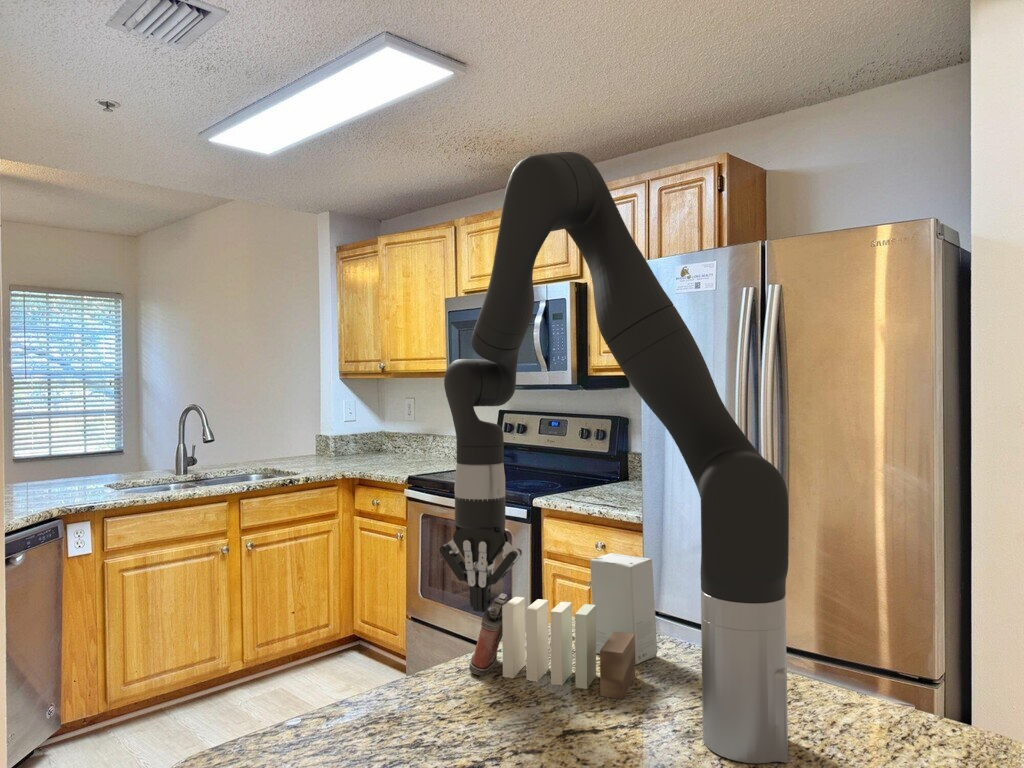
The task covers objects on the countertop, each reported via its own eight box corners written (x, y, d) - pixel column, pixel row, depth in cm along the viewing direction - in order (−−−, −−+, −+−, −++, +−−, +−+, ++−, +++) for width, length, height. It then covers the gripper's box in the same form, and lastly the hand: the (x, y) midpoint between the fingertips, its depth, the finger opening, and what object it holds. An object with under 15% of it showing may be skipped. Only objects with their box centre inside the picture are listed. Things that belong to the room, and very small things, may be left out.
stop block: (635, 676, 100) (634, 634, 100) (622, 699, 93) (622, 653, 93) (614, 673, 101) (613, 631, 101) (600, 695, 94) (599, 650, 94)
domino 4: (575, 687, 97) (574, 613, 97) (585, 674, 101) (584, 603, 102) (586, 689, 96) (586, 615, 96) (596, 675, 101) (595, 604, 101)
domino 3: (572, 672, 102) (571, 602, 102) (562, 685, 97) (561, 612, 98) (561, 670, 103) (561, 601, 103) (550, 683, 98) (550, 611, 98)
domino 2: (548, 668, 103) (548, 600, 104) (537, 681, 99) (536, 609, 99) (538, 667, 104) (537, 599, 104) (526, 680, 99) (526, 608, 100)
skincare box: (658, 656, 108) (656, 558, 108) (634, 667, 104) (633, 565, 104) (614, 643, 114) (613, 550, 114) (590, 652, 110) (589, 556, 110)
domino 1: (525, 665, 105) (525, 597, 105) (513, 678, 100) (512, 607, 100) (515, 664, 105) (515, 596, 106) (502, 676, 101) (502, 606, 101)
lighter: (486, 678, 100) (505, 611, 100) (464, 670, 101) (482, 603, 100) (499, 656, 108) (516, 594, 108) (478, 649, 109) (495, 587, 108)
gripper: (530, 492, 106) (530, 608, 106) (451, 488, 111) (451, 599, 111) (512, 499, 99) (512, 623, 99) (428, 494, 104) (428, 612, 104)
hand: (480, 610), depth 105 cm, fingers closed
